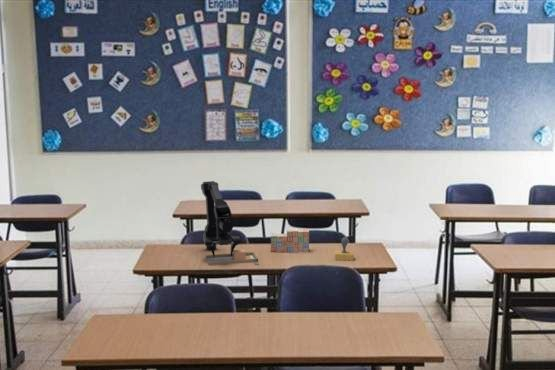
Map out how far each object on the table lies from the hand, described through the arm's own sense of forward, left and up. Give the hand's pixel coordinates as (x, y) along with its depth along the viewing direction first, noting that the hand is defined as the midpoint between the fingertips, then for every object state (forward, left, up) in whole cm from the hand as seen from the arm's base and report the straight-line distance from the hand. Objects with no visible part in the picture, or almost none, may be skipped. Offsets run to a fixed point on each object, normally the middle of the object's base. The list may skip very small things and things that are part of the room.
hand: (222, 256), depth 333 cm
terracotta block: (0, +9, -2) cm, 9 cm away
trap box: (+2, +5, -3) cm, 6 cm away
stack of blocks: (-12, +40, -3) cm, 42 cm away
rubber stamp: (+9, +65, -3) cm, 65 cm away
